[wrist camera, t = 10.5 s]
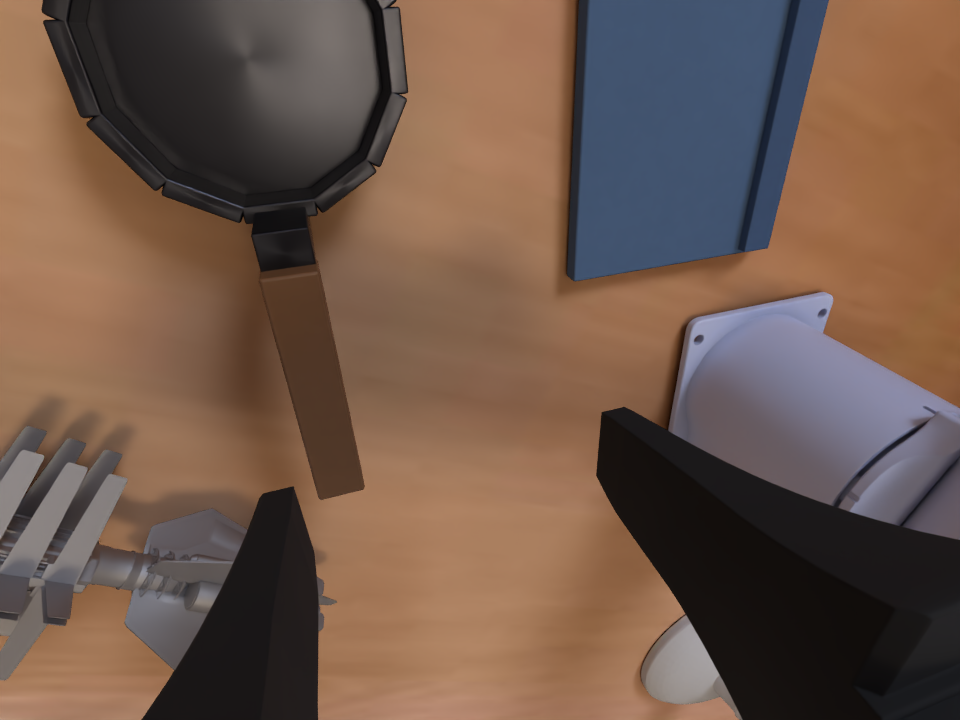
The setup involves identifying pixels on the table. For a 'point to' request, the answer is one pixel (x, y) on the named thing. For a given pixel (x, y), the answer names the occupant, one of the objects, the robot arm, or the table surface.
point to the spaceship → (101, 554)
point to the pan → (251, 145)
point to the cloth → (683, 127)
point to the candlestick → (683, 669)
